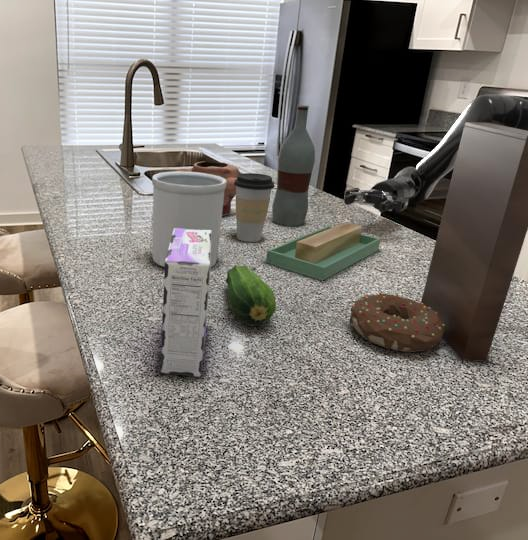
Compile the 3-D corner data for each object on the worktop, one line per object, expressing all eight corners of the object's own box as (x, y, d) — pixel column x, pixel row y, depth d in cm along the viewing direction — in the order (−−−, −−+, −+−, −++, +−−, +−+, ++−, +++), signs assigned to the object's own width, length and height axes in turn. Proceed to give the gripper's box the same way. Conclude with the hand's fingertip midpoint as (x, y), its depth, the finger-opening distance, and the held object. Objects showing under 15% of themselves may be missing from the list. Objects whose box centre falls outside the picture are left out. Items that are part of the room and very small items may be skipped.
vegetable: (248, 283, 77) (233, 241, 95) (223, 320, 79) (213, 273, 98) (289, 304, 78) (266, 259, 96) (263, 341, 80) (246, 290, 99)
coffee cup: (242, 246, 118) (248, 181, 113) (222, 234, 126) (226, 173, 121) (276, 242, 122) (283, 179, 116) (254, 230, 130) (260, 171, 124)
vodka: (304, 218, 142) (320, 105, 131) (307, 228, 133) (324, 108, 122) (270, 216, 143) (283, 103, 132) (270, 225, 135) (284, 106, 124)
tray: (326, 236, 128) (328, 225, 126) (378, 250, 119) (380, 238, 118) (265, 262, 109) (267, 250, 108) (322, 281, 101) (324, 267, 100)
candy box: (169, 325, 81) (173, 226, 75) (206, 328, 81) (213, 228, 75) (158, 374, 68) (162, 259, 62) (202, 378, 68) (211, 262, 62)
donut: (334, 315, 87) (339, 288, 85) (411, 315, 88) (418, 288, 86) (371, 361, 74) (378, 330, 72) (461, 360, 75) (470, 330, 73)
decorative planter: (171, 217, 138) (173, 166, 133) (170, 206, 149) (172, 157, 144) (245, 220, 139) (250, 168, 133) (238, 208, 150) (242, 160, 145)
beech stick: (359, 242, 121) (362, 226, 120) (312, 265, 106) (315, 246, 105) (342, 238, 124) (344, 222, 123) (294, 259, 109) (296, 241, 108)
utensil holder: (171, 243, 118) (174, 167, 112) (230, 256, 112) (238, 176, 105) (136, 262, 106) (137, 178, 100) (200, 278, 100) (206, 189, 93)
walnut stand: (438, 312, 89) (488, 122, 77) (486, 361, 75) (557, 136, 63) (418, 311, 90) (465, 121, 78) (461, 359, 75) (527, 135, 63)
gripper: (366, 175, 137) (338, 183, 125) (421, 184, 128) (396, 194, 117) (360, 202, 139) (333, 212, 128) (414, 213, 131) (390, 226, 119)
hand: (363, 204), depth 122 cm, fingers open, 8 cm apart
